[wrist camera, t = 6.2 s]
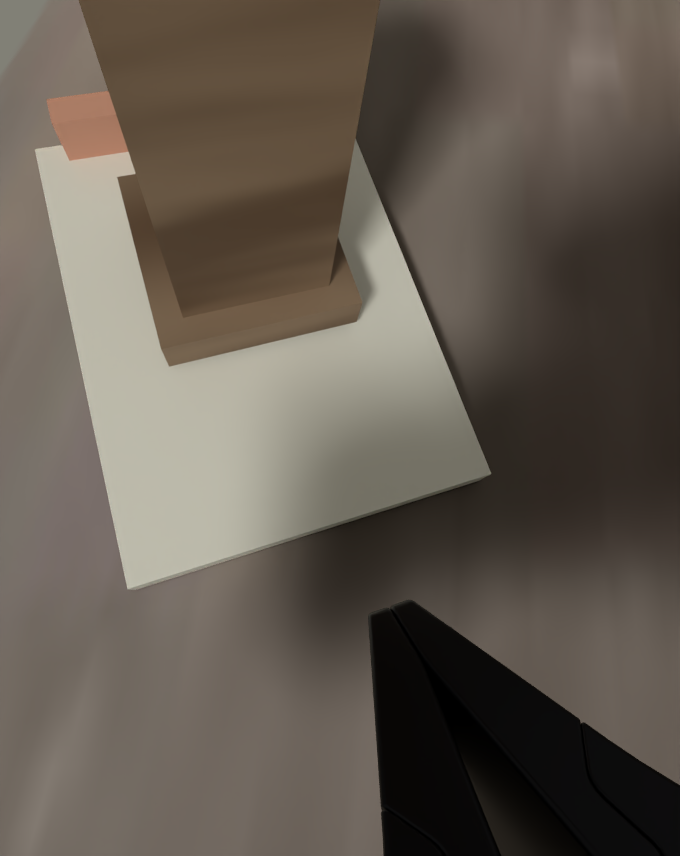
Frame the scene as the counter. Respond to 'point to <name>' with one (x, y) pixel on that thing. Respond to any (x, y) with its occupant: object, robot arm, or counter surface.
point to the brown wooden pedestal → (237, 160)
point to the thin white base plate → (245, 383)
